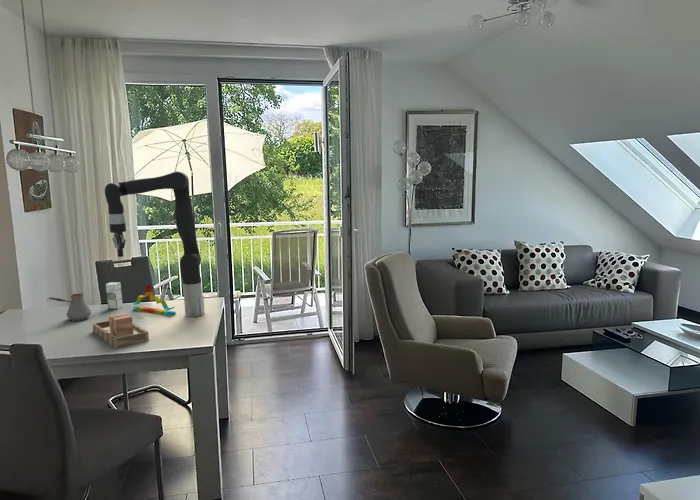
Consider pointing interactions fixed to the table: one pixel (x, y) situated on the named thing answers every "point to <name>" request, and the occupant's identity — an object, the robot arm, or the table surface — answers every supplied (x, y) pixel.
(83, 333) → the table surface
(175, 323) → the table surface
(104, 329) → the trough
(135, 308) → the multicoloured triangular frame
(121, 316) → the block
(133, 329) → the pad
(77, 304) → the coffee pot
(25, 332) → the table surface
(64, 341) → the table surface
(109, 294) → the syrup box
